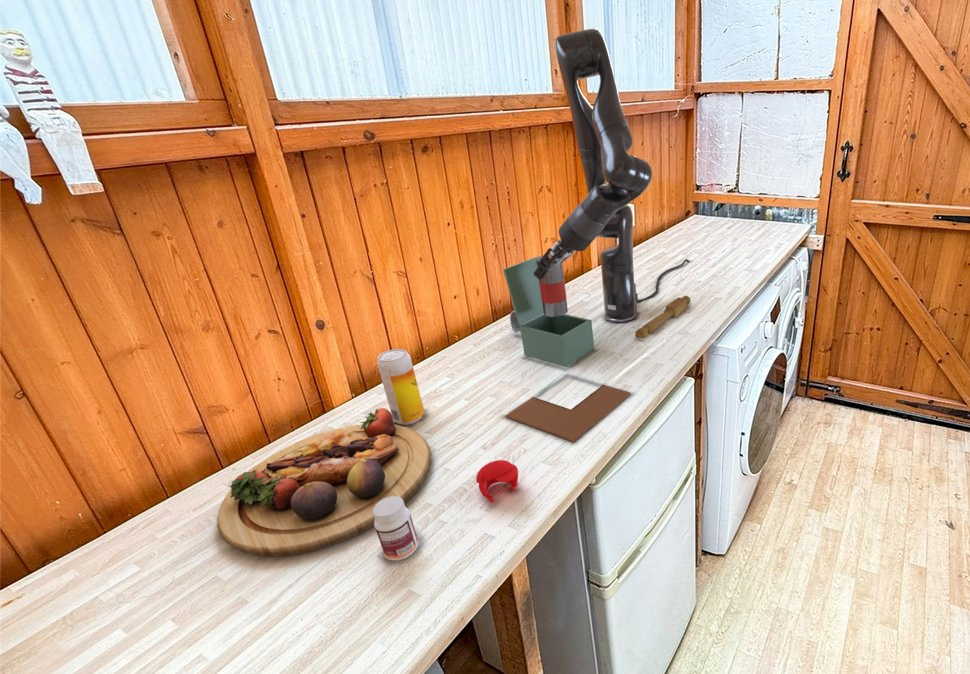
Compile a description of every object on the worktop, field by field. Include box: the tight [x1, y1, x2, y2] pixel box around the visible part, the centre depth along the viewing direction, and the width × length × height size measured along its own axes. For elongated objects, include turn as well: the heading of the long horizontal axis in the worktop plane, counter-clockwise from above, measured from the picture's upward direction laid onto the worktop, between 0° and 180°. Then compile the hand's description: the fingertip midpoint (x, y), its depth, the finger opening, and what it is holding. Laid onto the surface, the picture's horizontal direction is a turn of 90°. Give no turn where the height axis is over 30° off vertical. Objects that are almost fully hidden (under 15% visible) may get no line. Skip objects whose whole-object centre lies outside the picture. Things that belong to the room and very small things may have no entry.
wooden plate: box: [216, 407, 432, 557], centre depth 89 cm, size 32×32×8 cm
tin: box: [536, 254, 569, 317], centre depth 126 cm, size 6×6×14 cm
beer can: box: [376, 348, 425, 426], centre depth 106 cm, size 6×6×15 cm
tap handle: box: [634, 295, 691, 339], centre depth 151 cm, size 3×3×30 cm
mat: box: [505, 384, 631, 443], centre depth 111 cm, size 20×18×1 cm
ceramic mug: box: [509, 310, 544, 334], centre depth 147 cm, size 11×8×8 cm
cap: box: [475, 459, 519, 504], centre depth 86 cm, size 8×6×6 cm
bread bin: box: [520, 313, 595, 368], centre depth 132 cm, size 14×12×9 cm
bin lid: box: [502, 256, 544, 325], centre depth 132 cm, size 14×12×4 cm
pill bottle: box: [373, 496, 419, 561], centre depth 75 cm, size 5×5×8 cm
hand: (544, 272), depth 125 cm, fingers closed on tin, 6 cm apart
